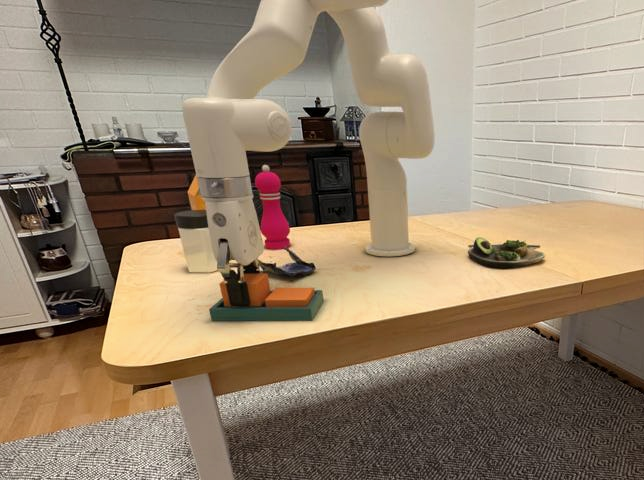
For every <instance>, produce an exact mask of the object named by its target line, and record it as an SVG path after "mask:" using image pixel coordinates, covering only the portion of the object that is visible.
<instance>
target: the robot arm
mask: <svg viewBox="0 0 644 480" xmlns="http://www.w3.org/2000/svg"><path fill="white" fill-rule="evenodd" d="M388 1H389V0H260V2H259V6H258V8H257V10H256V15H255V16H254V17H255V18H254V21H253V24H252V25H251V28H250V30H249V31H248V32H247V33H246V34H245V35H244V36H243V37H242V38H240V40H239V42H237V43H236V45H235V46H234V47H233V48H232V49H231V51H230V52H229V53H228V54H227V55H226V56H225V57H224V59H222V61H221V63H219V65H218V67H217V68H216V70H215V72H214V74H213V75H212V77H211V81H210V83H209V87H208V89H207V93H206V96H205V97H189V98H187V99H185V100H184V101H183V103H182V105H181V111H182V117H183V121H184V126H185V130H186V135H187V139H188V143H189V148H190V152H191V157H192V162H193V166H194V170H195V175H197V181H198V185H199V190H200V194H201V199H202V200H203V201H205V203H206V213H207V221H208V227H209V234H210V239H211V244H212V249H213V253H214V257H215V260H216V262H217V272H219V273H220V275H221V277H222V278H223V281H224V283H225V284H226V288H227V292H228V297H229V302H230V305H231V306H249V305H250V297H249V292H248V287H247V282H244V274H261V270H260V268H261V267H260V265H259V262H258V260H259V257H260V256H262V254H263V253H264V251H265V245H264V241H263V237H262V236H263V235H262V233H261V226H260V223H259V218H258V213H257V211H256V207H255V204H254V201H253V199H254V193H253V186H252V181H251V175H250V170H249V163H248V158H247V153H246V151H250V152H251V151H252V152H265V153H266V152H267V153H268V152H275V151H279V150H281V149H283V148H284V147H285V146H286V145H287V144H288V143H289V142H290V140H291V137H292V128H293V127H292V122H291V119H290V116H289V115H288V113H287V112H286V110H285V109H284V108H283V107H282V106H281V105H280V104H279V103H276V102H275V101H272V100H269V99H265V98H255V97H256V96H257V94H258V93H259V92H261V91H262V89H264V88H265V87H266V86H268V85H269V84H271V83H272V82H274V81H276V80H278V79H280V78H282V77H284V76H286V75H287V74H289V73H291V72H292V71H294V70H295V69H297V68H298V67H299V66H300V65H301V64H302V63H303V62H304V60H305V58H306V56H307V51H308V48H309V44H310V41H311V38H312V36H313V35H312V34H313V32H314V28H315V25H316V23H317V19H318V16H319V14H321V13H322V12H326V13H327V14H328V15H329V16H330V17H331V18H332V19H333V20H334V22H335V24H337V26H338V27H339V30H340V31H341V34H342V36H343V40H344V44H345V47H346V52H347V56H348V60H349V66H350V69H351V74H352V79H353V84H354V88H355V90H356V94H357V96H358V99H359V100H360V102H361V103H362V104H364V105H365V106H368V107H377V108H378V107H379V108H400V107H401V109H402V111H374V112H371V113H369V114H367V115H365V116H364V117H363V119H362V120H361V122H360V125H359V128H358V129H359V130H358V135H359V141H360V145H361V150H362V154H363V158H364V164H365V172H366V185H367V197H368V198H367V199H368V200H367V201H368V213H369V214H368V215H369V229H370V243H369V244H366V245H365V252H366V253H367V254H369V255H371V256H376V257H402V256H407V255H410V254H412V253H414V252H415V251H416V246H415V245H414V244H413V243H411V242H410V241H409V239H410V238H409V211H408V209H409V207H408V206H409V205H408V204H409V203H408V180H407V175H406V171H405V169H404V167H403V165H402V164H401V162H400V159H408V160H409V159H411V160H413V159H415V160H419V159H420V160H421V159H425V158H427V157H429V156H430V155H431V153H432V152H433V150H434V147H435V139H436V138H435V136H436V135H435V125H434V116H433V110H432V100H431V94H430V93H431V92H430V86H429V79H428V75H427V71H426V69H425V66H424V64H423V63H422V61H421V60H420V59H419V58H418V57H417V56H416V55H414V54H410V53H397V54H392V52H391V51H390V47H389V43H388V39H387V34H386V29H385V25H384V22H383V20H382V18H381V16H380V14H379V13H378V11H377V9H376V8H379V7H382V6H384V5H385V4H386V5H387V3H388ZM230 261H235V262H230ZM231 268H232V269H231ZM233 268H234V269H233ZM235 269H237V270H235Z"/></svg>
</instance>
